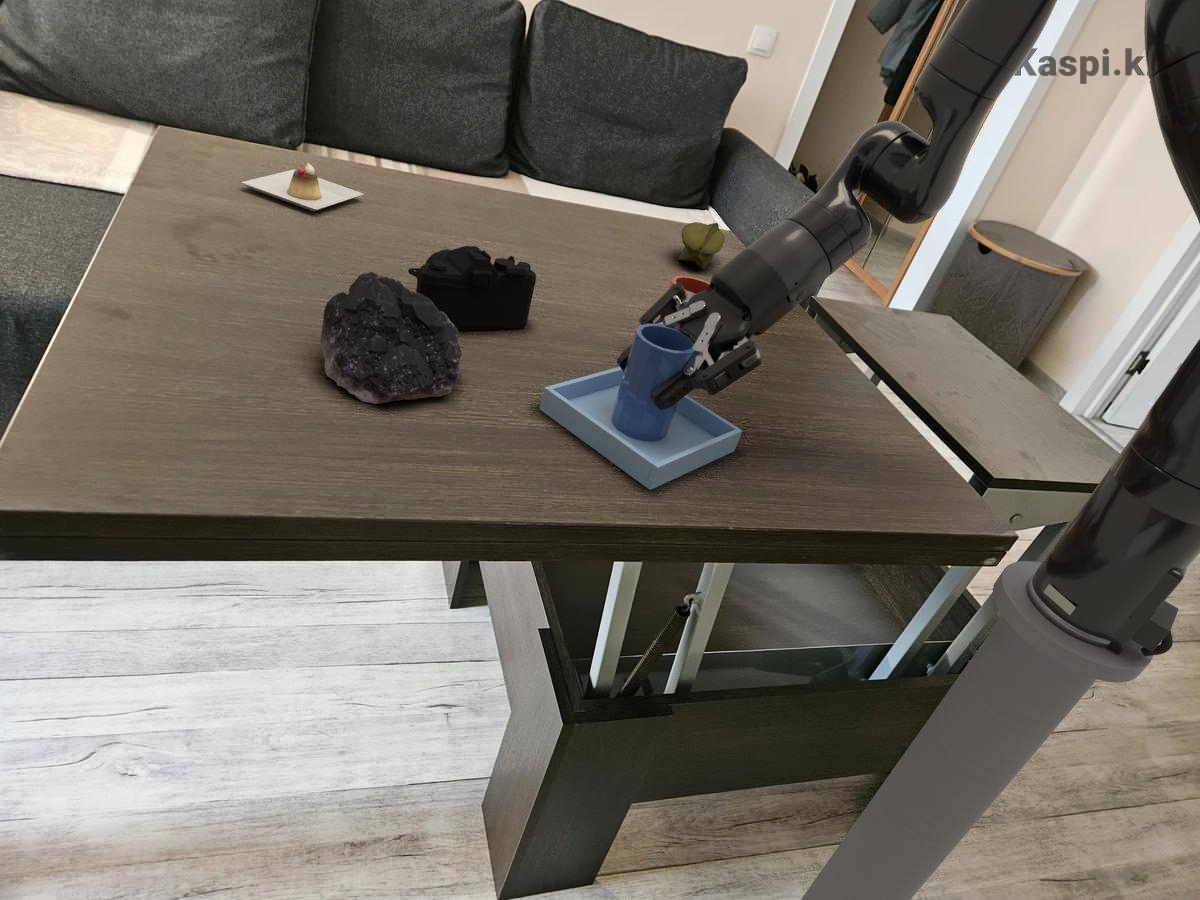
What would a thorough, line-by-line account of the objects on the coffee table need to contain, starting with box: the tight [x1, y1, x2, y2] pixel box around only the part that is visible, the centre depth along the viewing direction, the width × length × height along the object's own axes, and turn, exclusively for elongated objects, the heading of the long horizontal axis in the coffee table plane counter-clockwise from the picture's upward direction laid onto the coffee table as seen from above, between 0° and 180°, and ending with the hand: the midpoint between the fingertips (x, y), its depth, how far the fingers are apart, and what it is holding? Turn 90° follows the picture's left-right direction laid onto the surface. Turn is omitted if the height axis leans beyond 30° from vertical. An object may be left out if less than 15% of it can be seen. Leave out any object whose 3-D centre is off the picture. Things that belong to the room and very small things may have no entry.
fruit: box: [678, 221, 725, 270], centre depth 132 cm, size 11×12×7 cm
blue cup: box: [611, 324, 695, 441], centre depth 79 cm, size 6×6×10 cm
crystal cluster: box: [320, 271, 462, 405], centre depth 77 cm, size 13×14×10 cm
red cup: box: [668, 275, 711, 330], centre depth 95 cm, size 6×6×10 cm
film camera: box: [407, 245, 537, 332], centre depth 92 cm, size 15×10×9 cm, turn 121°
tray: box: [539, 366, 743, 491], centre depth 81 cm, size 15×14×3 cm
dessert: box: [241, 162, 365, 212], centre depth 113 cm, size 12×12×5 cm
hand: (638, 385), depth 78 cm, fingers closed on blue cup, 6 cm apart
